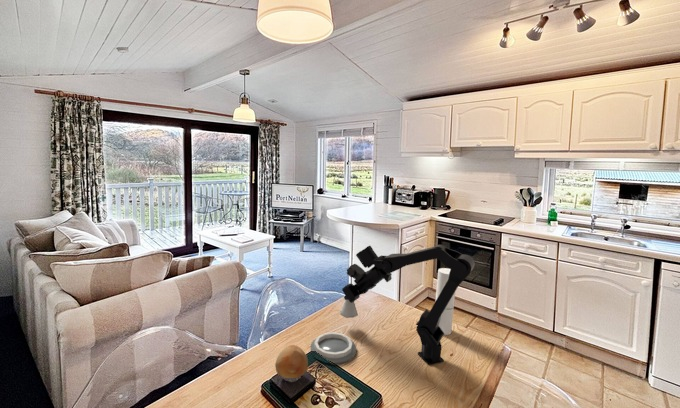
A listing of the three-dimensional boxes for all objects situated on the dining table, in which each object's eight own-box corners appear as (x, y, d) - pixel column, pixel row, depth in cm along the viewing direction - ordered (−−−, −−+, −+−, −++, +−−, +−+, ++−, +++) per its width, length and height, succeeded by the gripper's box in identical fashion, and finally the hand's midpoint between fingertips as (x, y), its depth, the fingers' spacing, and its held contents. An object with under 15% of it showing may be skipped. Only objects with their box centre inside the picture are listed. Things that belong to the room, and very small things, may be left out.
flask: (336, 311, 126) (337, 288, 125) (352, 308, 129) (353, 285, 128) (345, 320, 120) (346, 295, 118) (361, 316, 123) (362, 292, 121)
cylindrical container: (448, 326, 129) (454, 268, 126) (453, 335, 122) (459, 275, 119) (431, 324, 130) (436, 267, 126) (434, 334, 123) (440, 273, 119)
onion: (269, 375, 95) (269, 345, 94) (297, 363, 101) (298, 335, 100) (284, 395, 87) (285, 362, 86) (313, 380, 94) (314, 350, 92)
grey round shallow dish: (363, 359, 105) (363, 352, 105) (317, 368, 99) (318, 360, 99) (345, 334, 120) (346, 327, 119) (305, 340, 114) (305, 333, 114)
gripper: (371, 254, 127) (347, 273, 134) (347, 265, 111) (322, 287, 119) (387, 276, 124) (362, 295, 131) (366, 292, 108) (338, 312, 116)
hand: (346, 297), depth 124 cm, fingers closed on flask, 3 cm apart
